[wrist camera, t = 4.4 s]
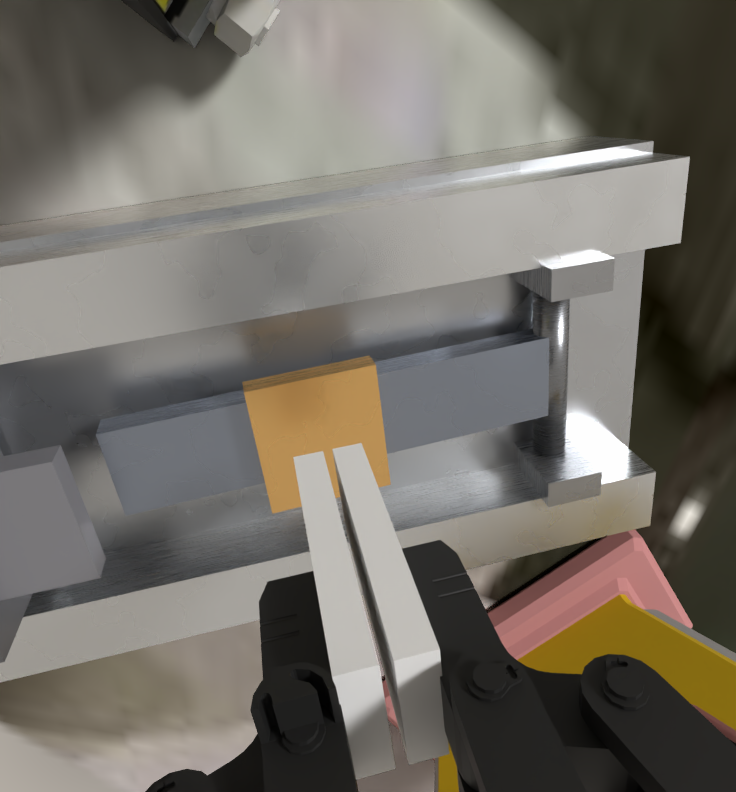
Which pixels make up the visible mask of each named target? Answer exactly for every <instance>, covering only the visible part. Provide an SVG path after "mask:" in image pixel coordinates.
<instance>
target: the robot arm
mask: <svg viewBox="0 0 736 792" xmlns="http://www.w3.org/2000/svg"><path fill="white" fill-rule="evenodd" d="M332 451H333V457H334V463H335V468H336V474H337V480H338V486H339V492H340V498H341V504H342V510H343V515H344V521H345V527H346V533H347V537H348V541H349V544H350V548H351V552H352V555H353V559H354V563H355V567H356V570H357V574H358V578H359V582H360V585H361V589H362V593H363V597H364V600H365V604H366V608H367V612H368V615H369V619H370V623H371V626H372V630H373V634H374V638H375V641H376V645H377V649H378V653H379V656H380V660H381V664H382V668H383V671H384V675H385V679H386V683H387V686H388V690H389V694H390V697H391V701H392V705H393V709H394V712H395V716H396V720H397V724H398V727H399V731H400V735H401V739H402V742H403V746H404V750H405V753H406V757H407V761H408V765H412V764H415V763H419V762H422V761H426V760H430V759H433V758H437V757H440V756H444V755H447V754H449V745H450V748H451V751H452V754H453V756H454V759H455V762H456V765H457V775H458V787H459V792H736V746H735V745H734V744H733V743H732V742H731V741H730V740H729V739H728V738H727V737H726V736H725V735H723V734H722V733H721V732H720V731H719V730H718V729H717V728H716V727H715V726H714V725H713V724H712V723H711V722H710V721H709V720H707V719H706V718H705V717H704V716H703V715H702V714H701V713H700V712H699V711H698V710H697V709H696V708H695V707H694V706H693V705H691V704H690V703H689V702H688V701H687V700H686V699H685V698H684V697H683V696H682V695H681V694H680V693H679V692H678V691H677V690H675V689H674V688H673V687H672V686H671V685H670V684H669V683H668V682H667V681H666V680H665V679H664V678H663V677H662V676H661V675H659V674H658V673H657V672H656V671H655V670H654V669H652V668H651V667H649V666H648V665H647V664H645V663H644V662H642V661H641V660H638V659H635V658H632V657H629V656H626V655H618V654H607V655H603V656H600V657H596V658H594V659H593V660H592V661H590V662H589V663H588V664H587V665H586V666H585V667H584V670H583V673H582V674H567V673H550V672H543V671H538V670H535V669H533V668H530V667H527V666H525V665H524V664H522V663H520V662H519V661H517V660H516V659H515V658H514V657H513V656H511V655H510V654H509V653H508V651H507V650H506V648H505V647H504V645H503V644H502V642H501V640H500V638H499V636H498V634H497V632H496V630H495V628H494V626H493V624H492V622H491V620H490V618H489V616H488V614H487V612H486V610H485V608H484V606H483V604H482V602H481V600H480V598H479V596H478V594H477V592H476V590H475V589H474V586H473V584H472V582H471V580H470V578H469V576H468V575H467V573H466V570H465V568H464V566H463V564H462V562H461V560H460V558H459V556H458V554H457V553H456V552H455V551H454V550H453V549H451V548H450V547H449V546H448V545H446V544H445V543H444V542H443V541H441V540H437V541H433V542H428V543H424V544H420V545H415V546H411V547H407V548H403V549H402V548H401V546H400V543H399V540H398V538H397V535H396V532H395V530H394V527H393V524H392V522H391V519H390V517H389V514H388V511H387V509H386V506H385V503H384V501H383V498H382V496H381V493H380V490H379V488H378V485H377V482H376V480H375V477H374V475H373V472H372V469H371V467H370V464H369V461H368V459H367V456H366V453H365V451H364V448H363V446H362V443H359V444H354V445H349V446H344V447H339V448H335V449H332ZM293 459H294V464H295V470H296V476H297V481H298V487H299V493H300V498H301V504H302V509H303V515H304V521H305V526H306V532H307V538H308V543H309V549H310V555H311V560H312V566H313V571H310V572H306V573H302V574H298V575H293V576H289V577H285V578H280V579H276V580H272V581H268V582H267V584H266V586H265V589H264V591H263V593H262V595H261V598H260V600H259V615H260V626H261V627H260V633H261V643H262V644H261V650H262V667H263V680H262V681H261V683H260V685H259V686H258V688H257V690H256V691H255V693H254V695H253V699H252V705H251V713H252V717H253V720H254V723H255V726H256V729H257V732H258V734H257V736H256V737H255V739H254V741H253V742H252V743H251V744H250V745H249V746H248V747H247V749H246V750H245V751H244V752H243V753H241V754H240V755H239V756H237V757H236V758H235V759H233V760H232V761H230V762H229V763H227V764H226V765H224V766H222V767H221V768H219V769H217V770H216V771H214V772H213V773H211V774H209V775H208V776H207V775H206V774H204V773H203V772H202V771H196V770H190V769H185V770H180V771H176V772H172V773H169V774H167V775H166V776H164V777H163V778H161V779H159V780H158V781H156V782H154V783H153V784H152V785H151V786H150V787H149V788H148V789H147V791H146V792H358V787H357V782H356V780H358V779H362V778H365V777H369V776H372V775H376V774H380V773H383V772H387V771H390V770H394V769H396V766H395V760H394V754H393V748H392V741H391V735H390V729H389V722H388V716H387V710H386V703H385V697H384V691H383V685H382V678H381V672H380V666H379V661H378V658H377V654H376V650H375V646H374V643H373V639H372V635H371V631H370V627H369V624H368V620H367V616H366V612H365V608H364V605H363V601H362V597H361V593H360V589H359V586H358V582H357V578H356V574H355V570H354V567H353V563H352V559H351V555H350V551H349V548H348V544H347V540H346V536H345V532H344V529H343V525H342V521H341V517H340V513H339V510H338V506H337V502H336V498H335V495H334V491H333V487H332V483H331V479H330V476H329V472H328V468H327V464H326V460H325V457H324V453H323V451H320V452H315V453H311V454H306V455H301V456H296V457H293ZM448 742H449V744H448Z"/></svg>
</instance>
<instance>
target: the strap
mask: <svg viewBox="0 0 736 792" xmlns="http://www.w3.org/2000/svg"><path fill="white" fill-rule="evenodd" d="M569 320H570V299H566V300H561V301H555V302H550V301H548V300H547V299H545V298H543V297H542V296H540V295H538V294H537V293H535V292H534V291H533V329H529V330H524V331H519V332H515V333H510V334H505V335H501V336H496V337H491V338H486V339H482V340H477V341H472V342H467V343H463V344H458V345H453V346H448V347H444V348H439V349H434V350H429V351H425V352H420V353H415V354H410V355H406V356H401V357H396V358H391V359H387V360H382V361H377V362H374V361H373V360H372V358H371V357H370V355H369V356H364V357H359V358H354V359H350V360H345V361H340V362H335V363H331V364H326V365H321V366H316V367H311V368H307V369H302V370H297V371H292V372H287V373H283V374H278V375H273V376H268V377H263V378H259V379H254V380H249V381H244V382H242V384H243V390H240V391H235V392H230V393H225V394H221V395H216V396H211V397H206V398H202V399H197V400H192V401H187V402H183V403H178V404H173V405H168V406H164V407H159V408H154V409H150V410H145V411H140V412H135V413H131V414H126V415H121V416H116V417H112V418H107V419H102V420H100V423H99V426H98V429H97V432H96V437H97V440H98V443H99V445H100V448H101V451H102V453H103V456H104V459H105V462H106V464H107V467H108V470H109V472H110V475H111V478H112V481H113V483H114V486H115V489H116V491H117V494H118V497H119V499H120V502H121V505H122V508H123V510H124V513H125V516H128V515H132V514H136V513H140V512H144V511H149V510H153V509H157V508H161V507H165V506H170V505H174V504H178V503H182V502H187V501H191V500H195V499H199V498H203V497H208V496H212V495H216V494H220V493H224V492H229V491H233V490H237V489H241V488H246V487H250V486H254V485H258V484H262V483H265V484H266V489H267V493H268V497H269V501H270V506H271V510H272V514H273V513H277V512H281V511H286V510H290V509H294V508H298V507H302V504H301V498H300V493H299V487H298V481H297V476H296V470H295V464H294V459H293V457H296V456H301V455H306V454H311V453H315V452H320V451H323V453H324V457H325V460H326V464H327V468H328V472H329V476H330V479H331V483H332V487H333V491H334V495H335V498H338V497H340V492H339V486H338V480H337V474H336V468H335V463H334V457H333V451H332V449H335V448H339V447H344V446H349V445H354V444H359V443H362V446H363V448H364V451H365V453H366V456H367V459H368V461H369V464H370V467H371V469H372V472H373V475H374V477H375V480H376V482H377V485H378V488H379V487H383V486H387V485H391V482H390V474H389V466H388V458H387V454H389V453H393V452H397V451H402V450H406V449H410V448H414V447H418V446H423V445H427V444H431V443H435V442H440V441H444V440H448V439H452V438H456V437H461V436H465V435H469V434H473V433H477V432H482V431H486V430H490V429H494V428H499V427H503V426H507V425H511V424H515V423H520V422H524V421H528V420H532V419H533V450H534V451H535V452H536V453H538V454H541V455H545V456H556V455H560V454H562V453H563V452H564V451H565V450H566V426H567V390H568V355H569Z"/></svg>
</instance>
